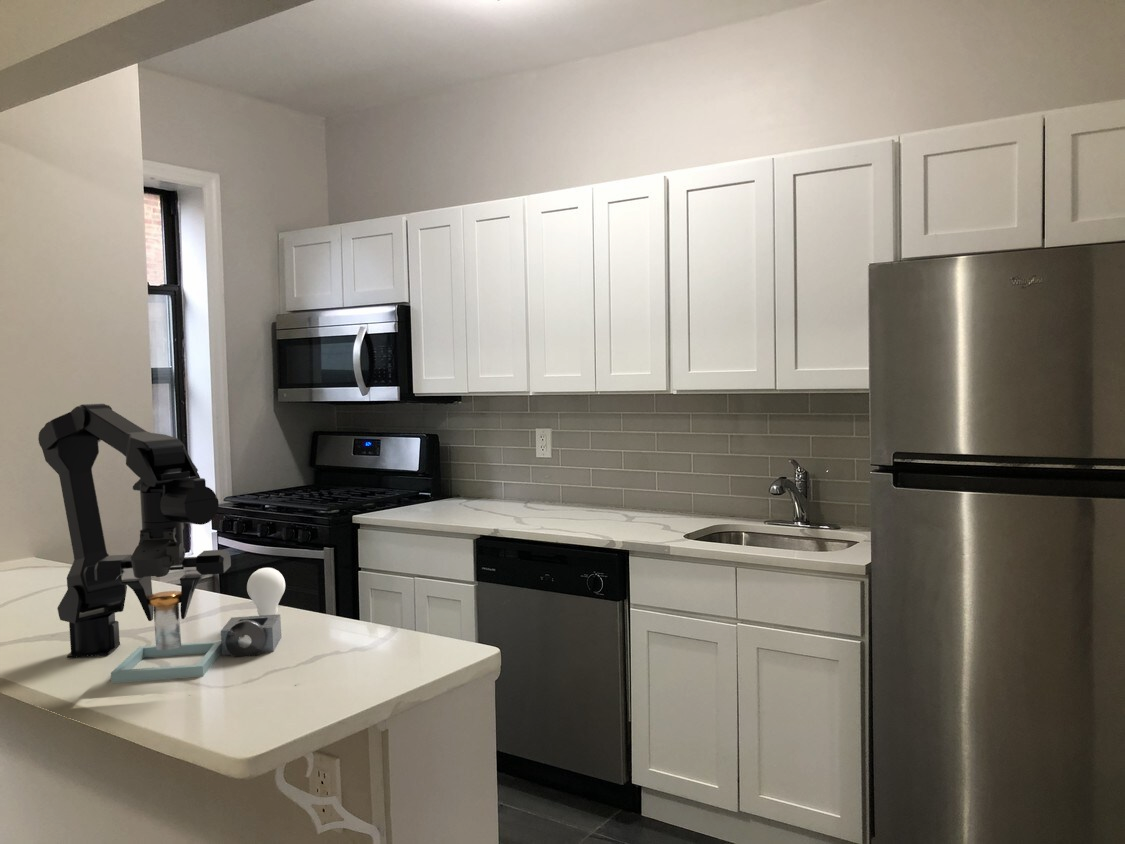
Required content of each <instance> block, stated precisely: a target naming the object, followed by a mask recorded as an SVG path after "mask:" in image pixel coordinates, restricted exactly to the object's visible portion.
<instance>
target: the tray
mask: <svg viewBox="0 0 1125 844" xmlns="http://www.w3.org/2000/svg"><path fill="white" fill-rule="evenodd" d="M199 654H205V655H203V657H202V659H200V661H199V662H198V663H197V664H188V665H187V664H186V665H172V666H158V667H146V668H135V667H136V666H137V665H138V664H139V663H140V662H141V661H142V660H143V659H144V658H155V657H156V658H157V657H169V656H171V657H172V656H183V655H186V656H187V655H199ZM221 655H222V645H221V640H217V641H202V642H201V641H199V642H187V643H186V642H185V643H181V646H180V647H178V648H175V649H171V650H157V649H156V644H155V645H144V646H143V645H142V646H138V647H137V648H136V649H134V650H133V652H131V653H130V654H129V655H128V656H127V657H126V658H125V659H124V660H123V661H122V662H121V663H119V664H118V665H117V667H115V668H114V669H113V670H112V671H111V672H110V679H111V680H110V681H111V684H117V683H129V682H130V683H131V682H133V683H134V682H144V681H146V682H147V681H157V680H158V681H159V680H168V679H169V680H171V679H185V678H199V677H204V676H205V675H206V673H208V671H209V669H210V668H211V667H212V665H213V664H214V663H215V661H216V660H217V659H218V658H219V656H221Z"/></svg>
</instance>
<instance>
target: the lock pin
mask: <svg viewBox="0 0 1125 844" xmlns="http://www.w3.org/2000/svg"><path fill="white" fill-rule="evenodd" d="M180 604H181V591H179V590H166V591H160V592H156V593H152V595H150V596H149V605H150V606H153V607H154V612H153V619H154V636H155V637H154V638H155V645H156V649H157V650H171V649H175V648H178V647H180V646H181V644H182V637H181V636H182V635H181V633H182V632H181V621H180V620H181V613H180Z"/></svg>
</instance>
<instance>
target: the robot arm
mask: <svg viewBox="0 0 1125 844" xmlns="http://www.w3.org/2000/svg"><path fill="white" fill-rule="evenodd" d="M37 439H38V445H39V446H40V448H41V451H42V453H43V457H44V460H45V462H46V463H47V464H48V465H49V466H50V467H51V468H52V469H53V471H54V472H55V473H57V475H58V477H59V482H60V487H61V494H62V498H63V504H64V510H65V515H66V520H67V526H68V532H69V537H70V542H71V547H72V553H73V559H74V560H73V563H72V565H71V567H70V568H69V571H68V574H67V577H66V588H67V590H66V592H65V594H64V596H63V597H62V599H61V601H60V603H59V604H58V606H57V614H58V617H59V620H60V621H62V622H66V623H67V622H68V623H69V624H68V625H69V626H68V628H69V642H70V644H69V645H70V652H69V653H68V654H67V655H66V659H74V658H89V657H102V656H104V657H105V656H109V655H110V654H111V653H113V652H114V651H115V650H116V649H117V648H118V647H119V646H121V642H120V627H119V625H120V624H119V620H116V614H115V613H121V612H123V611H124V609H125V603H126V597H127V592H128V591H127V589H128V588H130V589H131V590H132V591H133V592H134V594H135V596H136V597H137V599H138V601H139V603H140V606H141V608H142V610H143V612H144V614H145V616H146V619H147V620H148V622H152V621H153V619H154V606H150V605H149V596H150V595H152V594H153V585H152V584H153V583H152V577H156V578H162V577H165V576H168V574H169V572H170V571H179V570H181V571H182V570H183V573H184V574H183V575H182V576H181V577H180V578H179V582H180V587H181V588H180V589H181V591H180V592H181V603H180V607H179V612H180V620H185V618H186V617H187V614H188V612H189V608H190V604H191V601H192V599H193V595H194V593H195V589H196V588H197V586H198V583H199V581H200V580H202V579H203V578H204V577H205V576H207V575H220V574H225V573H226V572H227V571H228V570H229V569H230V568H231V566H232V559H231V554H230V552H229V551H228V550H227V549H212V550H210V549H209V550H203V551H202V552H200V554H198V555H197V556H187V557H185V555H186V547H185V548H184V533H183V530H184V529H185V525H184V524H189V525H190V524H191V525H200V526H201V525H206V524H208V523H210V522H211V521H212V520H214V518H215V517H216V515H217V512H218V510H219V503H220V502H219V498H218V497H217V494H216V492H215V491H214V490H213V489H211V488H210V487H208V486H206V484H207V483H206V479H205V478H201V477H200V474H199V473H198V471H199V470H198V468H197V466H196V465H195V463H193V460H192V458H191V456H190V455H189V452H188V451H187V449H186V447H185V445H184V443H183V442H182V440H180V439H179V438H178V437H174V436H171V435H168V434H162V433H155V432H150V431H147V430H145V429H144V428H143V427H140V426H139V425H137V424H135V423H134V422H133V421H131V420H129V419H127V418H126V417H124V416H122V415H121V414H119V413H118V412H116V411H114V410H113V409H112V407H111V406H110V405H109V404H105V403H89V404H87V403H86V404H79V405H78V406H75V407H74V408H73V409H72V410H70V411H69V412H67V413H65V414H62V415H60V416H57V417H55V418H53V419H51V420H50V421H47V423H45V424H44V426H43V427H42V428H41V429H40V431H39V433H38V438H37ZM101 441H102V442H104V443H105V444H107V445H109V446H110V447H111V448H113V449H115V450H116V451H118V452H119V453H120V454H122V455H123V456H125V465H126V466H127V467H128V468H129V470H130V471H132V473H133V474H134V475H136V476H137V477H138V478H139V479H138V480H137V481H136V482H135V483H134V484H133V486H132V490H133V491H136V492H137V491H139V495H140V496H139V498H140V514H141V515H140V516H141V518H140V519H141V529H140V530H139V532H140V533H139V542H138V545H137V546H136V547H135V549H134V550H133V553H132V554H112V555H109V553H108V551H107V545H106V540H105V535H104V530H103V525H102V523H103V522H102V519H101V515H100V513H101V512H100V508H99V502H98V498H97V493H96V486H95V481H94V475H93V467H94V464H95V462H96V460H97V457H98V455H99V452H100V449H99V443H100V442H101Z"/></svg>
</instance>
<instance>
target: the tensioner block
mask: <svg viewBox="0 0 1125 844" xmlns="http://www.w3.org/2000/svg"><path fill="white" fill-rule="evenodd" d="M281 618H282V617H281V614H279V613H278V614H275V615H263V616H259V615H252V616H238V617H236V616H235V617H233V616H232V617H230V618H229V620H228V621H227V622H226V623H225V625H224V626H223V627H222V629H221V630H220V639H221V640H220V641H221V645H222V652H221V656H223V657H224V656H233V657H234V658H246V657H247V658H248V657H257V656H259V654H261V653H262V654H265V653H273V652H275V651H276V649H277V646H278V645H279V642H280V641H281V640H282V621H281Z"/></svg>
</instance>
